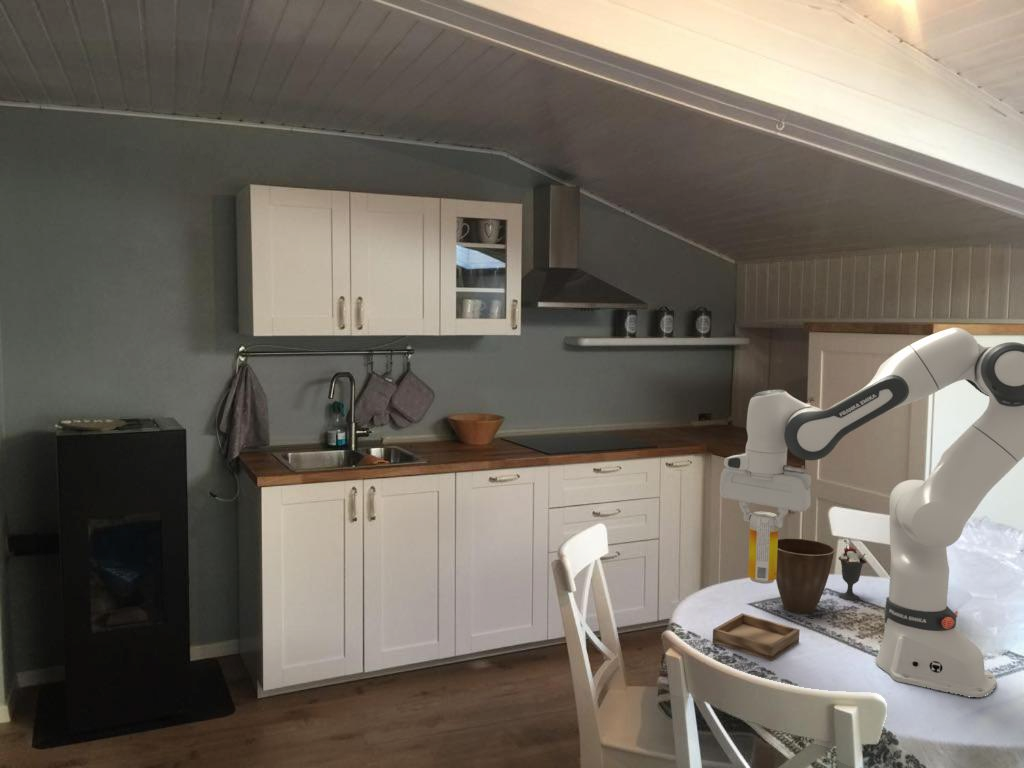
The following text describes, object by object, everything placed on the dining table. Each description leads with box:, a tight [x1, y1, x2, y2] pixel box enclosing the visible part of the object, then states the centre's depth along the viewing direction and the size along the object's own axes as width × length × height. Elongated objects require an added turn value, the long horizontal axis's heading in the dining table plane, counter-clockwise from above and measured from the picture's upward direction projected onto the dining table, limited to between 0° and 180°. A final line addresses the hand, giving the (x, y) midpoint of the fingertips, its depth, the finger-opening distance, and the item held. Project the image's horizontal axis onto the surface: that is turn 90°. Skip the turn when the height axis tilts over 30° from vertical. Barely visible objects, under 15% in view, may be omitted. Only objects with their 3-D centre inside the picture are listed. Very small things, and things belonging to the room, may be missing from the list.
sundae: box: [837, 539, 867, 601], centre depth 225 cm, size 7×7×15 cm
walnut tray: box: [712, 613, 801, 662], centre depth 193 cm, size 14×14×3 cm
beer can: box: [747, 511, 779, 584], centre depth 192 cm, size 6×6×15 cm
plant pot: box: [775, 537, 835, 615], centre depth 215 cm, size 15×15×16 cm
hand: (762, 524), depth 192 cm, fingers closed on beer can, 6 cm apart
